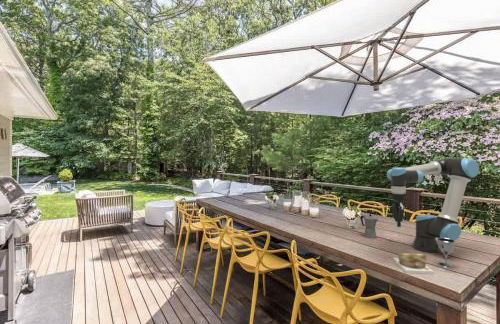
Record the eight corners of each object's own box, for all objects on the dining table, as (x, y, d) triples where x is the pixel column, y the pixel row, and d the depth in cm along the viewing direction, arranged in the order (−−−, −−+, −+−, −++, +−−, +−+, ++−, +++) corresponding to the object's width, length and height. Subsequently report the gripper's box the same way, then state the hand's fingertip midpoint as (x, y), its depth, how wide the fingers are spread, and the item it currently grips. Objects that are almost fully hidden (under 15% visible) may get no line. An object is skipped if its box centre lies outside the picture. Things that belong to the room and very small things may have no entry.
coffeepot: (381, 237, 213) (381, 214, 212) (374, 239, 208) (374, 216, 207) (363, 232, 226) (363, 211, 225) (356, 234, 220) (356, 212, 220)
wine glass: (442, 267, 157) (442, 241, 157) (435, 262, 165) (435, 237, 164) (457, 268, 156) (457, 242, 155) (449, 262, 164) (449, 238, 163)
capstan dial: (419, 259, 164) (419, 249, 164) (430, 268, 151) (431, 258, 151) (394, 258, 166) (395, 249, 166) (404, 267, 153) (404, 257, 153)
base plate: (417, 261, 167) (417, 257, 167) (433, 274, 149) (433, 270, 149) (393, 260, 168) (393, 256, 168) (406, 272, 151) (406, 269, 151)
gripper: (387, 191, 172) (387, 228, 173) (396, 194, 159) (395, 234, 160) (400, 191, 171) (400, 228, 172) (409, 194, 158) (409, 235, 159)
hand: (397, 231), depth 166 cm, fingers closed
